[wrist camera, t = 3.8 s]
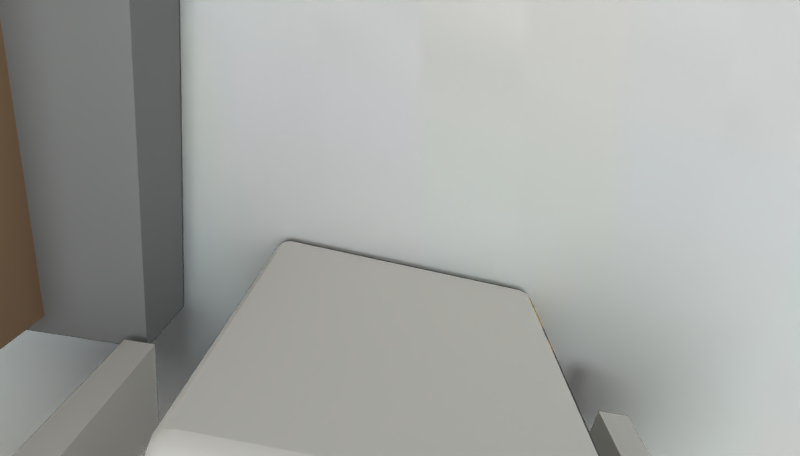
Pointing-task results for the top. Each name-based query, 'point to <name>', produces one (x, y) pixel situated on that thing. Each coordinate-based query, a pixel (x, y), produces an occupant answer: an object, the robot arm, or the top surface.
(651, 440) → the top surface
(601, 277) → the top surface
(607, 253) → the top surface
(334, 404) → the medicine bottle
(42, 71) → the stand
